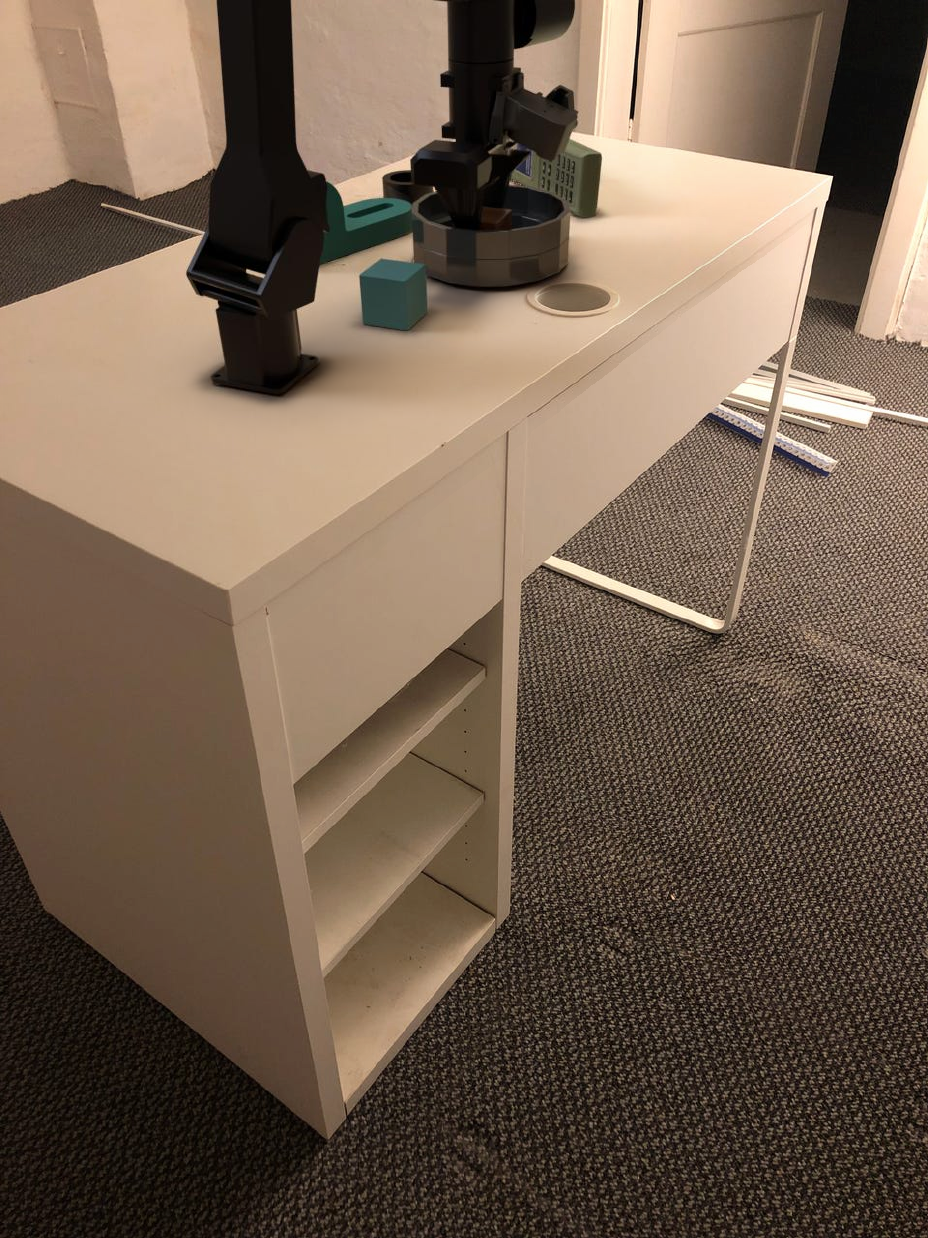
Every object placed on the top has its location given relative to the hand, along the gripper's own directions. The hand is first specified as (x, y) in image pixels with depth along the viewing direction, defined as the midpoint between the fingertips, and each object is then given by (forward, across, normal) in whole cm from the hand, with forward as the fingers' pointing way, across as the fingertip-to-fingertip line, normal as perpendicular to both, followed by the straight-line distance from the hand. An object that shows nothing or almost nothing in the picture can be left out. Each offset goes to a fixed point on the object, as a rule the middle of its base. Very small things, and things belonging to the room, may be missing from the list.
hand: (481, 240), depth 96 cm
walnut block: (+2, 0, 0) cm, 2 cm away
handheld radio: (+3, +28, +4) cm, 29 cm away
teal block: (+3, -14, +3) cm, 14 cm away
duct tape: (+3, +18, +16) cm, 24 cm away
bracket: (+3, +3, +17) cm, 18 cm away
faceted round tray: (+3, +2, 0) cm, 4 cm away
